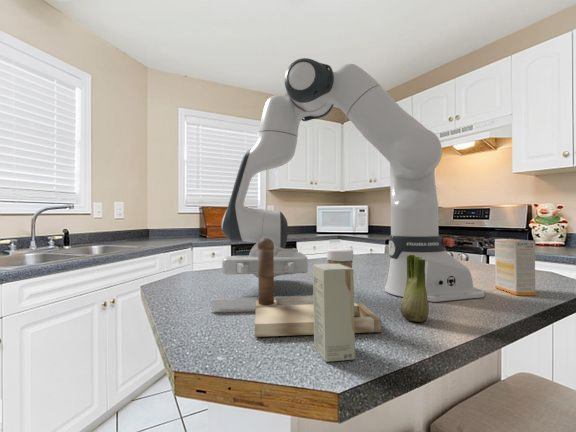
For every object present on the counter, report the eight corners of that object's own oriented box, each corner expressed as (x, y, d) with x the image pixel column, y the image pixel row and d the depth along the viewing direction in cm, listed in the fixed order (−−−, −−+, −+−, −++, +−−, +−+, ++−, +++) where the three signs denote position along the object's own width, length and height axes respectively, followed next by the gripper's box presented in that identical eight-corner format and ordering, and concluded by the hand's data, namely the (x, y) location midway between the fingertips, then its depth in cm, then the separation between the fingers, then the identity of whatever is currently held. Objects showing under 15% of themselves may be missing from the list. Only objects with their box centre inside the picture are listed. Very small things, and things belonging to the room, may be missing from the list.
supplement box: (536, 295, 75) (536, 240, 75) (516, 295, 75) (515, 240, 75) (512, 288, 83) (512, 238, 83) (494, 288, 84) (494, 238, 84)
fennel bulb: (429, 326, 55) (429, 257, 55) (399, 323, 57) (398, 256, 57) (428, 317, 60) (428, 253, 60) (401, 314, 62) (400, 252, 62)
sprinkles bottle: (329, 329, 54) (329, 250, 54) (325, 320, 58) (325, 247, 58) (356, 328, 54) (356, 249, 54) (350, 320, 59) (349, 247, 59)
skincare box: (356, 361, 42) (355, 269, 42) (324, 363, 41) (324, 270, 41) (340, 342, 48) (340, 262, 48) (312, 344, 48) (312, 262, 48)
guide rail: (355, 305, 68) (355, 294, 68) (358, 307, 66) (358, 295, 66) (213, 310, 65) (213, 298, 65) (212, 312, 64) (212, 300, 64)
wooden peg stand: (355, 307, 66) (355, 236, 66) (381, 331, 52) (380, 241, 52) (256, 310, 64) (255, 237, 64) (254, 336, 50) (254, 243, 50)
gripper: (224, 249, 82) (217, 256, 68) (303, 248, 84) (311, 254, 70) (224, 273, 82) (217, 285, 68) (303, 272, 84) (311, 283, 70)
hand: (266, 270), depth 69 cm, fingers open, 8 cm apart
